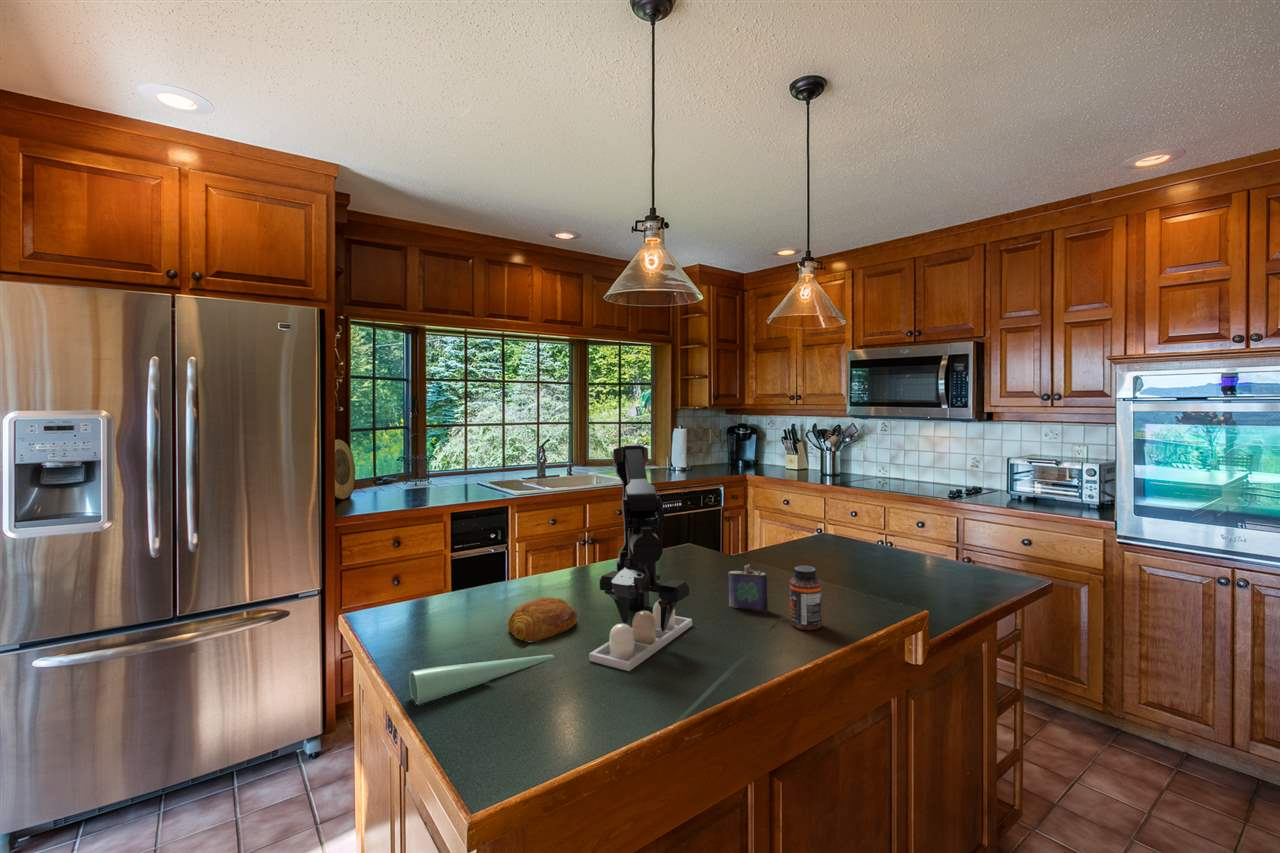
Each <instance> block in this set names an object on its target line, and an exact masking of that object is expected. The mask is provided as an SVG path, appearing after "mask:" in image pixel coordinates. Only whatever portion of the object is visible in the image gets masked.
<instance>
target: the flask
mask: <svg viewBox="0 0 1280 853" xmlns="http://www.w3.org/2000/svg"><path fill="white" fill-rule="evenodd" d="M750 566H751V564H747V565H746V564H745V565H744V566H743V569H744V571H742V570H740V571H739V570H731V571H728V574H727V575H728V607H730V608H737V609H738V608H739V609H743V610H750V611H755V612H760V611H767V612H768V609H769V608H768V607H769V606H768V603H769V602H768V601H769V600H768V576H767V574H766V573H765V572H761V571H760V570H753V569H752V568H750Z"/></svg>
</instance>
